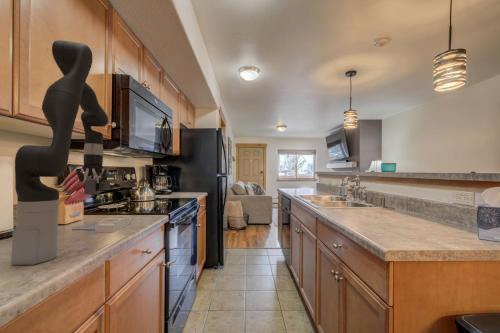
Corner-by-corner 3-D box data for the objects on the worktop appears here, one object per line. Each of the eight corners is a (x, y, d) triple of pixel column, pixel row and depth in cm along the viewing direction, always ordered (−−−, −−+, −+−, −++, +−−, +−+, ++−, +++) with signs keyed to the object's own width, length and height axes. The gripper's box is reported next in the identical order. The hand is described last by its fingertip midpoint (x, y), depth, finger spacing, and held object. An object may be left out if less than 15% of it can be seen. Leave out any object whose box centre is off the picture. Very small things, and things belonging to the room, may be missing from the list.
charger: (94, 194, 109) (94, 178, 109) (84, 194, 109) (84, 178, 109) (99, 193, 114) (100, 178, 114) (90, 193, 113) (90, 178, 114)
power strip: (112, 232, 103) (112, 223, 103) (94, 232, 102) (95, 222, 102) (130, 223, 121) (131, 215, 121) (116, 223, 120) (116, 215, 120)
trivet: (95, 230, 106) (95, 228, 106) (72, 230, 105) (72, 228, 106) (107, 225, 116) (107, 224, 116) (86, 225, 115) (86, 223, 115)
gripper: (72, 153, 108) (70, 191, 107) (105, 153, 108) (103, 192, 108) (82, 154, 115) (81, 190, 115) (113, 155, 116) (112, 190, 115)
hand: (92, 190), depth 111 cm, fingers closed on charger, 4 cm apart
